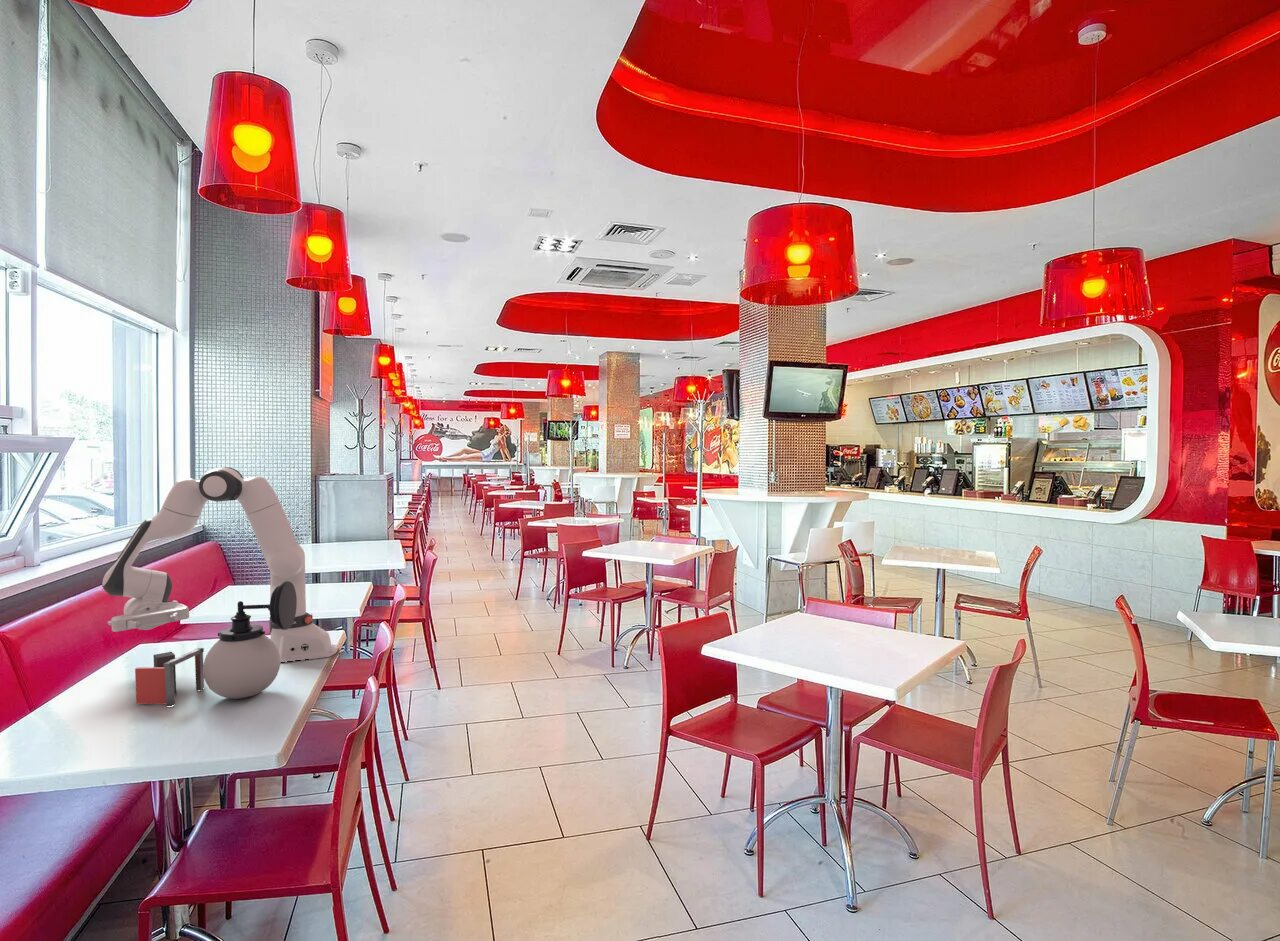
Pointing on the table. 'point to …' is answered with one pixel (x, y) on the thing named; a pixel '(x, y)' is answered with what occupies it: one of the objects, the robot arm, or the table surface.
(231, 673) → the light fixture
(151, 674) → the red square panel
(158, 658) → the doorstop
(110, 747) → the table surface
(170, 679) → the frame
